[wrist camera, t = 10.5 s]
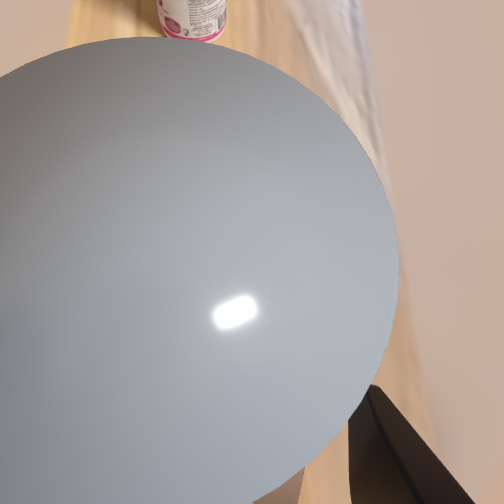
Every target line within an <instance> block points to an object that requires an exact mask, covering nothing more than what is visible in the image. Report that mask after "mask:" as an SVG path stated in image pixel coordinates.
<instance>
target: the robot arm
mask: <svg viewBox="0 0 504 504" xmlns="http://www.w3.org/2000/svg"><path fill="white" fill-rule="evenodd" d="M348 441H349V484H350V494H351V502H352V504H475V503H474V502H473V500H472V499H471V498H470V497H469V496H468V494H467V493H466V492H465V491H464V489H463V488H462V487H461V486H460V485H459V483H458V482H457V481H456V480H455V478H454V477H453V476H452V475H451V474H450V473H449V471H448V470H447V469H446V467H445V466H444V465H443V464H442V463H441V461H440V460H439V459H438V458H437V456H436V455H435V454H434V453H433V452H432V450H431V449H430V448H429V447H428V445H427V444H426V443H425V442H424V441H423V439H422V438H421V437H420V436H419V434H418V433H417V432H416V431H415V430H414V428H413V427H412V426H411V425H410V424H409V422H408V421H407V420H406V419H405V417H404V416H403V415H402V414H401V413H400V411H399V410H398V409H397V408H396V406H395V405H394V404H393V403H392V402H391V400H390V399H389V398H388V397H387V395H386V394H385V393H384V392H383V391H382V389H381V388H380V387H378V386H376V385H372V384H370V386H369V388H368V390H367V392H366V393H365V395H364V397H363V399H362V401H361V403H360V404H359V405H358V407H357V408H356V410H355V411H354V412H353V414H352V415H351V417H350V418H349V419H348Z"/></svg>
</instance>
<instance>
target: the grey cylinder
mask: <svg viewBox="0 0 504 504" xmlns="http://www.w3.org/2000/svg"><path fill="white" fill-rule="evenodd" d="M398 284H399V258H398V242H397V236H396V231H395V226H394V220H393V215H392V211H391V208H390V205H389V202H388V199H387V196H386V193H385V190H384V187H383V184H382V182H381V180H380V178H379V176H378V174H377V172H376V170H375V168H374V166H373V163H372V161H371V159H370V158H369V156H368V155H367V153H366V152H365V150H364V149H363V147H362V145H361V144H360V142H359V141H358V139H357V138H356V136H355V135H354V134H353V133H352V131H351V130H350V129H349V128H348V126H347V125H346V124H345V123H344V122H343V120H342V119H341V118H340V117H339V116H338V115H337V114H336V113H335V112H334V111H333V110H332V109H331V108H330V107H329V106H328V105H327V104H326V103H325V102H324V101H323V100H322V99H321V98H320V97H318V96H317V95H316V94H314V93H313V92H312V91H311V90H309V89H308V88H307V87H305V86H304V85H303V84H301V83H300V82H299V81H297V80H296V79H294V78H292V77H291V76H289V75H287V74H286V73H284V72H282V71H281V70H279V69H277V68H275V67H274V66H272V65H269V64H267V63H265V62H263V61H261V60H258V59H256V58H254V57H252V56H250V55H247V54H244V53H241V52H238V51H235V50H232V49H229V48H226V47H223V46H218V45H214V44H209V43H205V42H200V41H196V40H187V39H179V38H170V37H132V38H119V39H110V40H104V41H99V42H93V43H88V44H83V45H79V46H76V47H72V48H69V49H65V50H62V51H58V52H55V53H52V54H50V55H47V56H45V57H42V58H40V59H37V60H35V61H32V62H30V63H27V64H25V65H23V66H21V67H19V68H17V69H16V70H14V71H12V72H10V73H8V74H6V75H4V76H2V77H0V504H251V503H252V502H254V501H256V500H257V499H259V498H261V497H263V496H264V495H266V494H268V493H269V492H271V491H273V490H275V489H276V488H278V487H280V486H281V485H282V484H284V483H285V482H286V481H287V480H289V479H290V478H291V477H292V476H294V475H295V474H296V473H297V472H299V471H300V470H301V469H302V468H304V467H305V466H306V465H307V464H309V463H310V462H311V461H312V460H313V459H314V458H315V457H316V456H317V455H318V454H319V453H320V452H321V451H322V450H323V449H324V448H325V447H326V446H327V445H328V444H329V443H330V441H331V440H332V439H333V438H334V437H335V436H336V435H337V434H338V433H339V432H340V430H341V429H342V428H343V426H344V425H345V423H346V422H347V421H348V419H349V418H350V417H351V415H352V414H353V412H354V411H355V410H356V408H357V407H358V405H359V404H360V403H361V401H362V399H363V397H364V395H365V393H366V392H367V390H368V388H369V386H370V384H371V382H372V380H373V378H374V376H375V375H376V373H377V371H378V368H379V366H380V363H381V360H382V357H383V355H384V352H385V349H386V346H387V344H388V341H389V338H390V334H391V330H392V325H393V320H394V316H395V311H396V307H397V297H398Z"/></svg>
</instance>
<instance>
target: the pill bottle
mask: <svg viewBox="0 0 504 504" xmlns="http://www.w3.org/2000/svg"><path fill="white" fill-rule="evenodd" d="M156 4H157V9H158V15H159V21H160V25H161V27H162V30H163V31H164V33H165V34H166V35H167V37H170V38H179V39H187V40H196V41H200V42H205V43H209V44H210V43H212V42H214V41H215V40H217V39H218V38H219V37H220V36H221V34H222V33H223V31H224V28H225V24H226V0H156Z"/></svg>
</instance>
